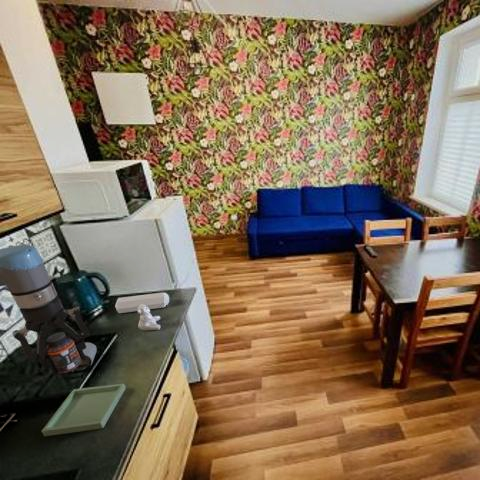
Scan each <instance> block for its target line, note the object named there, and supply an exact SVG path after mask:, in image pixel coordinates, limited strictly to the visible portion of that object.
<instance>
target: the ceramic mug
mask: <svg viewBox="0 0 480 480" xmlns="http://www.w3.org/2000/svg"><path fill="white" fill-rule="evenodd" d="M85 345H86V349H84V350H83V353H84V355H85V357H86V359H87V360H85V361H83V360H82V362H81V364H80V365H84V364H88V363H90V361H91V364H90V365H91V366H92V365H93V363H94V359H95V356H96V354H97V349H98V348H97V345H95V344H94V343H92V342H89V341H87V342H85ZM71 372H74V371H73V370H72V371H71Z"/></svg>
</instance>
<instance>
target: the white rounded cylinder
mask: <svg viewBox="0 0 480 480" xmlns="http://www.w3.org/2000/svg"><path fill="white" fill-rule="evenodd" d="M169 303H170V296H169V294H168V293H167V292H155V293H148V294H147V293H146V294H139V295H131V296H123V297H118V298H117V300H116V302H115V305H114V307H115V309H116V312H117V313H118V314H125V313H133V312H138V311H137V309H138V307H139V306H140V304H141V305H142V304H144V305H145V306H146V307H148V308H149V310H154V309H162V308H165V307H167V306H168V305H169ZM166 305H167V306H166Z"/></svg>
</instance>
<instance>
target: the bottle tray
mask: <svg viewBox="0 0 480 480" xmlns="http://www.w3.org/2000/svg"><path fill="white" fill-rule="evenodd" d="M126 389H127V387H126V385H125V383H116V384H108V385H100V386H92V387H91V386H90V387H83V388H74V389H73V390H72V391H71V392H70V393H69V395H68V396H67V397H66V398H65V400H64V401H63V402H62V403H61V405H60V406H59V408H58V409H57V410H56V412H55V413H53V415H52V417H51V418H50V419H49V421H48V422H47V423H46V425H45V426H44V427H43V428H42V429H41V433H42V435H43V437H50V436H58V435H65V434H72V433H78V432H86V431H93V430H94V431H95V430H100V429H104V428H105V426H106V424H107V422H108V420H109V419H110V417H111V416H112V413H113V411H114V410H115V408H116V406H117V405H118V403H119V401H120V399H121V397H122V396H123V394H124V392H125V391H126Z"/></svg>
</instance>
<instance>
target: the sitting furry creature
mask: <svg viewBox="0 0 480 480" xmlns="http://www.w3.org/2000/svg"><path fill="white" fill-rule="evenodd" d="M136 312H137V313H138V314H139V315H140V316H139V321H138V324H137V327H138V329H140V330H141V331H144V332H145V331H147V332H148V331H159V330H160V329H161V328H162V327H161V324H158V323H157V322H158V321H160V320H161V316H160V315H154V316H153V315H152V313H151V309H149V308H148V307H146V306H145V305H144V304H142V305H141V304H140V306H139V307H138V309H137V311H136Z"/></svg>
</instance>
